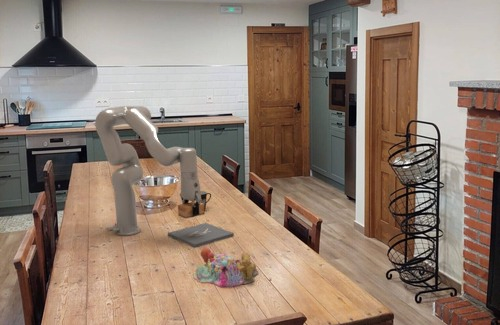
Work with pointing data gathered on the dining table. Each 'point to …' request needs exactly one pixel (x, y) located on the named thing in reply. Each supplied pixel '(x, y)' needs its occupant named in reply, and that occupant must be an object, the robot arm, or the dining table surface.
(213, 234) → the board
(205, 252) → the candy landscape model
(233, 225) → the dining table surface
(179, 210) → the block
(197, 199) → the robot arm
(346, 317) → the dining table surface
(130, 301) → the dining table surface
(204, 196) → the coffee mug
